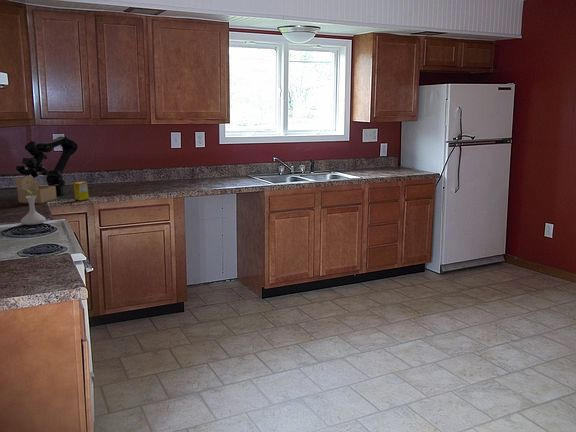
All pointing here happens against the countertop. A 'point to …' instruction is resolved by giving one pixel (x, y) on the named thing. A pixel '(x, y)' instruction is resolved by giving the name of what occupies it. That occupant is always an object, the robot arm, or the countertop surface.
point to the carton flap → (19, 186)
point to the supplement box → (81, 191)
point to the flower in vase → (31, 204)
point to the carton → (38, 194)
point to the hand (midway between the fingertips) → (25, 182)
